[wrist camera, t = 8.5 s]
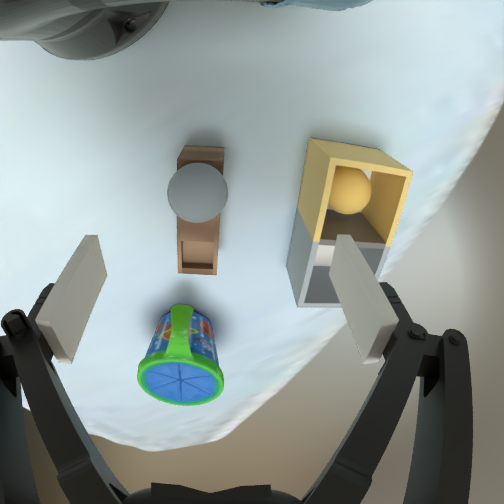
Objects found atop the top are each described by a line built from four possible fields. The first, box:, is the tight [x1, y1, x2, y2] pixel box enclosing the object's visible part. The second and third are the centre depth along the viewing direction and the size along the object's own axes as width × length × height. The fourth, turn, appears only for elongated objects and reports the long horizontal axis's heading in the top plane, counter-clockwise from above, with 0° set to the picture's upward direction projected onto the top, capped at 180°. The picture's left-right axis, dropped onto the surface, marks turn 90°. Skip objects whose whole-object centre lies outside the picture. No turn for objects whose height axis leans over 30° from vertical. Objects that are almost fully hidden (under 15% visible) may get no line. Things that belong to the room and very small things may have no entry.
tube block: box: [286, 138, 413, 308], centre depth 32 cm, size 16×8×8 cm, turn 174°
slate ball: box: [167, 163, 228, 223], centre depth 26 cm, size 5×5×5 cm
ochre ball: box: [328, 166, 371, 214], centre depth 31 cm, size 5×5×5 cm
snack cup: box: [137, 304, 224, 406], centre depth 39 cm, size 16×10×10 cm
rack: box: [177, 146, 224, 275], centre depth 31 cm, size 12×4×5 cm, turn 174°
